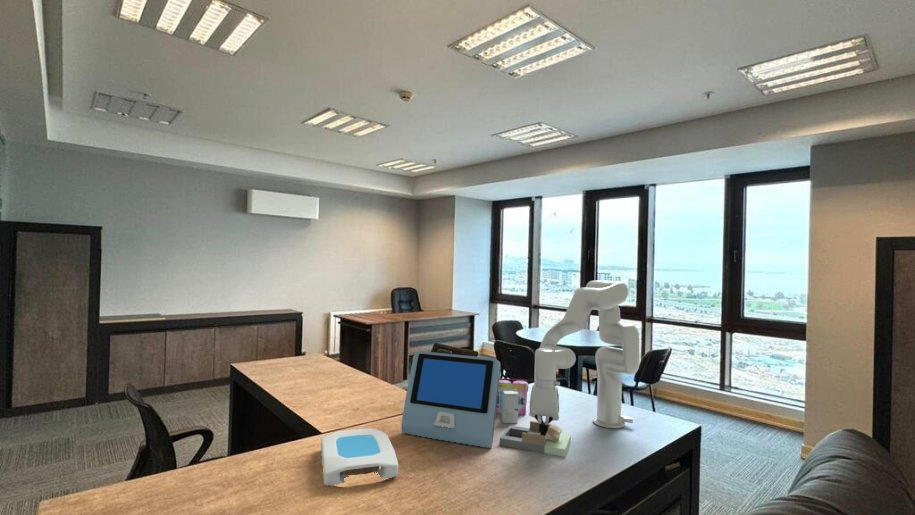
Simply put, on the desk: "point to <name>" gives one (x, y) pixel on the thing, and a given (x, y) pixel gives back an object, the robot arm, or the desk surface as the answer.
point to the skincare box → (510, 407)
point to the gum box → (513, 385)
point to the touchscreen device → (452, 398)
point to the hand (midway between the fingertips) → (543, 434)
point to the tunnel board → (534, 440)
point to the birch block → (553, 433)
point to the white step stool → (357, 454)
